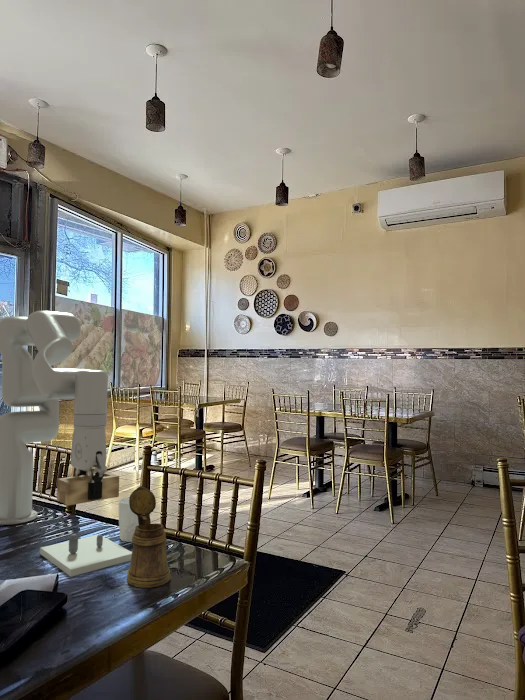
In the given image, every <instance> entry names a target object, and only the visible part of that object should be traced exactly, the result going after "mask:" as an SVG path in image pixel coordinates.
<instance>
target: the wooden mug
mask: <svg viewBox="0 0 525 700" xmlns="http://www.w3.org/2000/svg"><path fill="white" fill-rule="evenodd" d="M129 497H130V498H129V505H130V509H131V511H132V512H133V513H134V514H136V515H137V516H138V524H139V525H138V526H136V528H135V533H134V534H133V537H132V542H131V543H132V550H131V552H132V556H131V561H130V563H129V568H128V569H127V575H126V581H127V583H128V584H129V585H130V586H132V587H135V588H142V589H147V588H148V589H150V588H155V587H161V586H163V585H165V584H167V583H169V582H170V580H171V579H172V578H171V570H170V568H169V563H168V562H169V561H168V554H167V546H166V544H167V543H166V539H167V536H166V531H165V527H164V525H163V524H162V523H152V522H151V521H152V520H151V513H152V512H154V511H155V509H156V504H157V500H156V496H155V494H154V493H153V492H152V491H151V490H150V489H148V488H146V487H144V486H143V485H140V486H138V487H137V488H135V489H134V490H133V491H132V492H131V494H129ZM144 514H145V515H144Z"/></svg>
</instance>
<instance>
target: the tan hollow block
mask: <svg viewBox="0 0 525 700" xmlns="http://www.w3.org/2000/svg"><path fill="white" fill-rule="evenodd" d="M93 475H95V473H93ZM56 480H57V483H56V484H57V485H56V486H57V487H56V501H58V502H60V503H62V504H64V505H65V506H74V505H79V504H85V503H91V502H95V501H96V502H97V501H103V500H107V499H115V498H119V497H120V476H119V475H117V474H115V473H111V472H109V471H106V472H105V473H104V477H103V482H102V498H101V499H96V500H88V483H90V477H89V474H88V475H81V476H75V475H74V476H69V477H68V476H67V477H60V478H57V479H56Z"/></svg>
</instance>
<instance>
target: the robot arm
mask: <svg viewBox="0 0 525 700" xmlns="http://www.w3.org/2000/svg"><path fill="white" fill-rule="evenodd" d="M80 334H81V323H80V321H79V319H78V318H77V316H76V315H74V314H72V313H69V312H62V311H61V312H60V311H54V310H53V311H52V310H51V311H50V310H37V311H33V312H32V313H29V315H28V316H17V315H16V316H15V315H14V316H7V317H4V318H2V319H1V320H0V357H1V363H2V366H1V368H2V369H1V394H2V395H1V397H2V401H3V403H4V405H6V406H8V407H11V408H12V407H13V408H22V407H23V408H24V407H25V408H27V407H38V409H39V410H32V411H31V410H22V411H21V410H20V411H10V412H6V413H3V414H1V415H0V525H3V526H4V525H8V526H9V525H18V524H24V523H28V522H30V521H33V520H35V519H36V518H38V511H36V510H34V509H33V491H34V490H33V488H34V487H33V486H34V485H33V484H34V483H33V482H34V456H33V454H32V452H31V450H29V448H28V447H27V445H26V444H31V443H41V442H49V441H53V440H54V439H55V438H57V436H58V433H59V427H60V400H68V399H69V400H70V399H73V400H74V401H73V402H74V404H73V408H74V409H73V413H74V414H73V433H72V439H71V449H70V465H71V467H72V468H73V469H74V470H75V471H74V476H81V475H89V477H90V483H88V500H96V499H101V498H102V482H103V477H104V473H105V472H107V435H106V428H107V424H108V423H107V422H108V417H107V416H108V389H109V388H108V385H109V384H108V381H109V380H108V378H109V375H108V373H107V372H106V371H105V370H102V369H101V370H100V369H86V368H53V367H52V366H55V365H57V364H60V363H62V362H63V361H65V360H66V359H68V358H69V357H70V356H71V354H72V351H73V348H74V347H73V343H74V342H75V341H77V340H78V338H80ZM24 346H26V347H27V346H28V347H29V346H31V347H32V346H33V347H35V348H36V350H37V353H36V354H35V356H34V358H33V356H32V355H31V353H30V352H29V351H28V349H27V348H26V347H24ZM93 474H95V475H93Z"/></svg>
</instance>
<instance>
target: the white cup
mask: <svg viewBox="0 0 525 700" xmlns="http://www.w3.org/2000/svg"><path fill="white" fill-rule="evenodd" d="M129 498H130V496H127V497H123V498H120V499H118V501H117V502H118V529H119V540H120V539H121V540H120V541H121V542H125V541H126V543H133V542H132V537H133V534H134V533H135V528H136V526H138V525H139V524H138V516H137V515H136V514H134V513H133V512H132V511H131V509H130V505H129ZM144 515H145V514H144Z"/></svg>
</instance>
